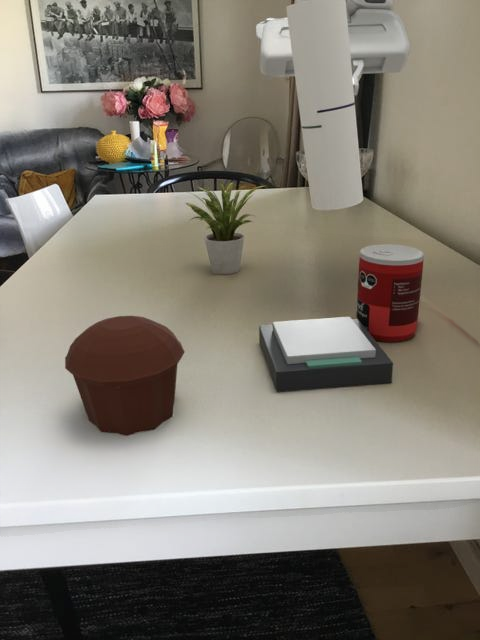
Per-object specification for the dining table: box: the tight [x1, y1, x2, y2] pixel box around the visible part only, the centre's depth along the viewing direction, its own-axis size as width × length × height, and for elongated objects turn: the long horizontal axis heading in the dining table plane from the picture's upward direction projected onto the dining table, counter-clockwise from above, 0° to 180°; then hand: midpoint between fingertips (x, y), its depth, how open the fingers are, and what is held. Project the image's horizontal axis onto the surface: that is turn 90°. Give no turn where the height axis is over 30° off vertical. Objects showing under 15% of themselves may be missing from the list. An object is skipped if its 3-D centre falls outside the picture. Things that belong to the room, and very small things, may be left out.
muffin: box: [64, 315, 185, 437], centre depth 57 cm, size 12×11×10 cm
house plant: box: [185, 180, 268, 275], centre depth 101 cm, size 14×14×16 cm
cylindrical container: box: [285, 0, 364, 211], centre depth 74 cm, size 7×7×25 cm
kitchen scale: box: [258, 316, 394, 393], centre depth 68 cm, size 13×13×4 cm
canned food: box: [355, 243, 425, 343], centre depth 74 cm, size 8×8×11 cm
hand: (339, 92), depth 75 cm, fingers closed on cylindrical container, 2 cm apart
